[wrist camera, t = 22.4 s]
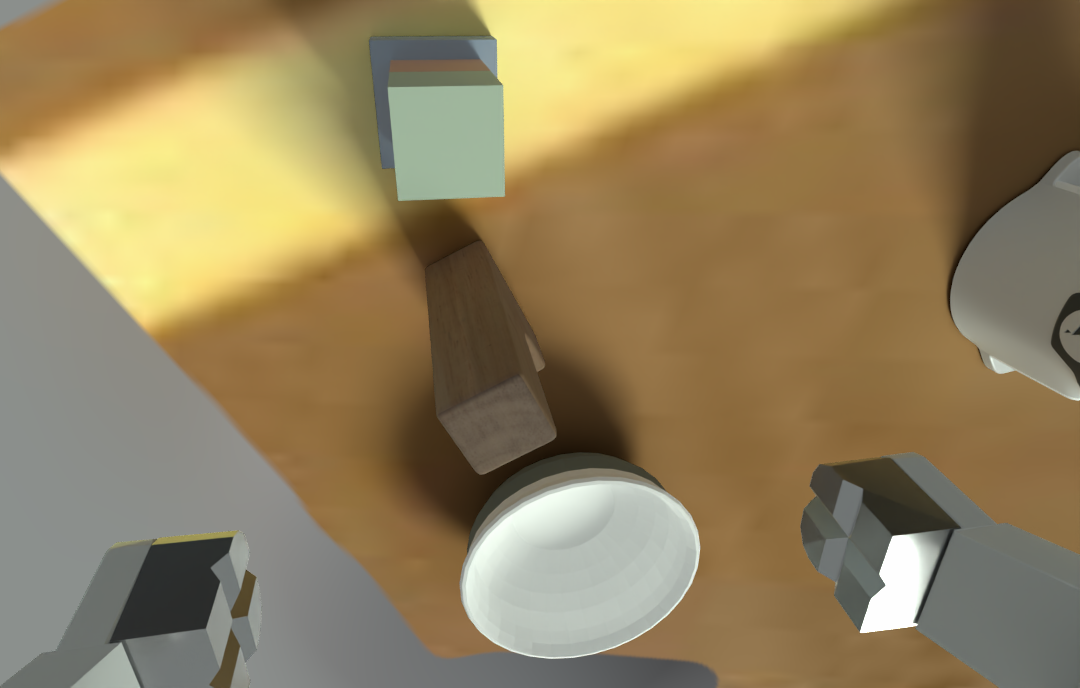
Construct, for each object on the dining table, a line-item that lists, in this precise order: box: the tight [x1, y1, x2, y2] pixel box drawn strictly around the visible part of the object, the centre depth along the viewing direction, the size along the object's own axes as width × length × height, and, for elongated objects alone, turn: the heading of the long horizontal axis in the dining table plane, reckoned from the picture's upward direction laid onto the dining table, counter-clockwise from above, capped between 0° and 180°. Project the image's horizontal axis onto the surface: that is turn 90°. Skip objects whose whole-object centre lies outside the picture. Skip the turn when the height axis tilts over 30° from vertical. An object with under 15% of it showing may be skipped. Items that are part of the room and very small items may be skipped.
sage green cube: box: [388, 71, 505, 201], centre depth 33 cm, size 5×5×5 cm
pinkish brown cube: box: [389, 59, 490, 72], centre depth 38 cm, size 5×5×5 cm
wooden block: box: [425, 241, 557, 475], centre depth 41 cm, size 9×4×18 cm, turn 25°
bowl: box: [460, 452, 700, 659], centre depth 56 cm, size 19×19×8 cm
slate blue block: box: [369, 36, 497, 169], centre depth 41 cm, size 7×7×2 cm
